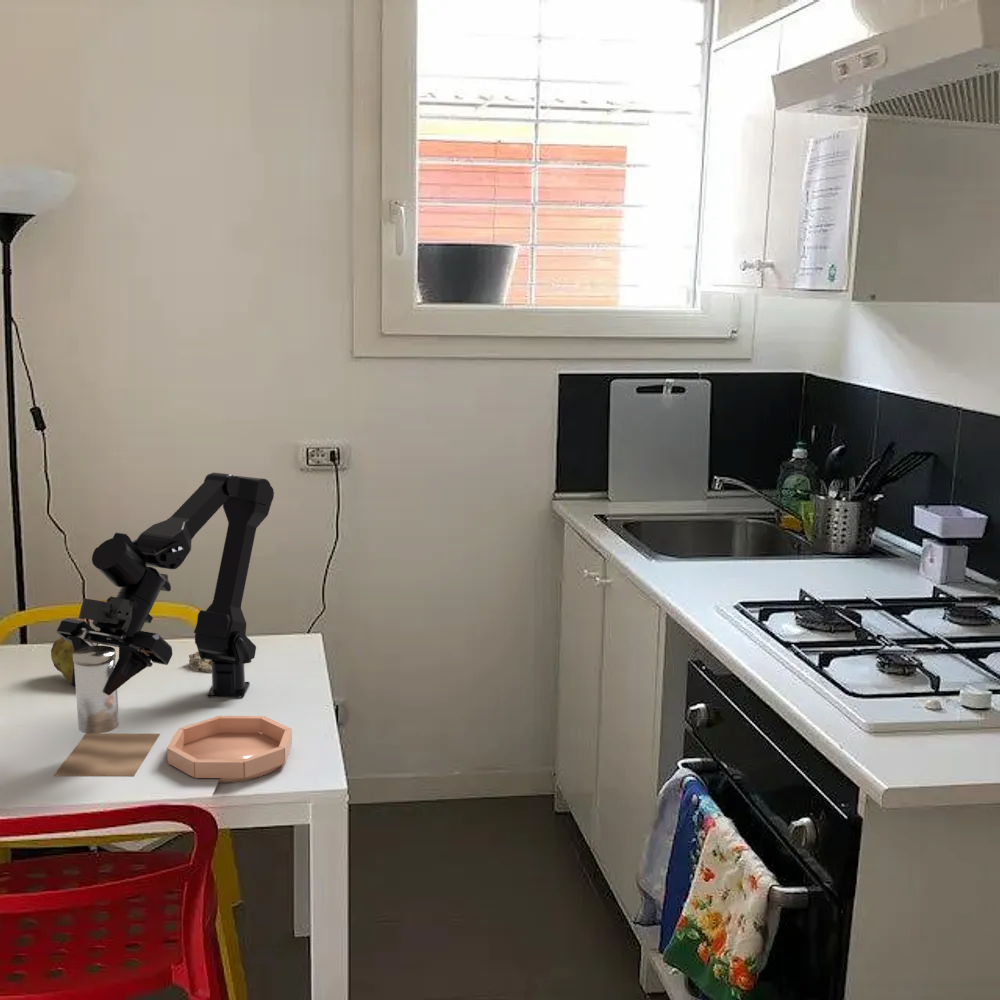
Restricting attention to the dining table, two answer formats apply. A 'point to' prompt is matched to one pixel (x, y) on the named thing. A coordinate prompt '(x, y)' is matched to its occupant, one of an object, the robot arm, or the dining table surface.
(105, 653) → the polished metal canister
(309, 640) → the dining table surface
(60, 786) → the dining table surface
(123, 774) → the walnut board
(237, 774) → the terracotta bowl
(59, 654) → the potato
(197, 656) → the mineral rock
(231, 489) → the robot arm
